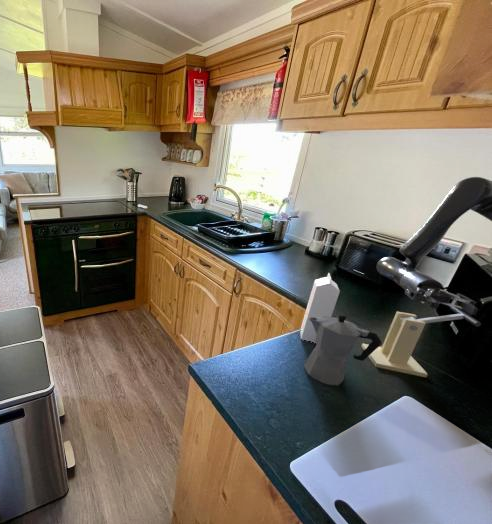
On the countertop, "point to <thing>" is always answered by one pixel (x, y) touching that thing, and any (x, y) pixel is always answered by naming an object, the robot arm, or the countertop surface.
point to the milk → (319, 305)
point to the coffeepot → (335, 348)
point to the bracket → (399, 346)
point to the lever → (447, 317)
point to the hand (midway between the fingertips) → (455, 308)
